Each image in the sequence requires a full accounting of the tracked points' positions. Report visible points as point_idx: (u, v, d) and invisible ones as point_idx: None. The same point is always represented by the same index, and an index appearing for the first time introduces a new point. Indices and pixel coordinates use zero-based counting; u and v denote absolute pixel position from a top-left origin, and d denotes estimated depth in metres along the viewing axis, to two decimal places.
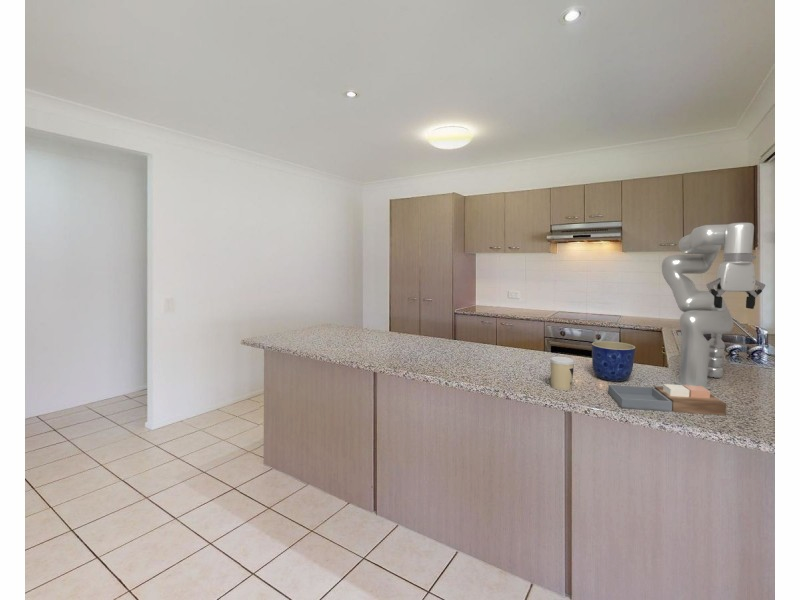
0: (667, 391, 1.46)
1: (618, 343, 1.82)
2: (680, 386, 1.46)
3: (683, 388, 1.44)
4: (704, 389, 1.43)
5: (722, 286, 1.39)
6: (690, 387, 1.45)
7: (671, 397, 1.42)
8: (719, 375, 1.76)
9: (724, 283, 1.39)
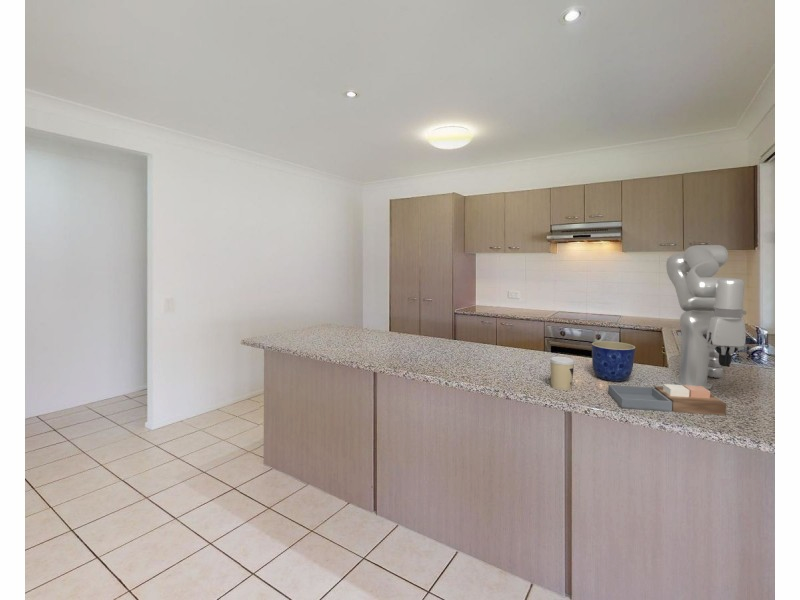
0: (667, 391, 1.46)
1: (618, 343, 1.82)
2: (680, 386, 1.46)
3: (683, 388, 1.44)
4: (704, 389, 1.43)
5: (713, 341, 1.40)
6: (690, 387, 1.45)
7: (671, 397, 1.42)
8: (719, 375, 1.76)
9: (715, 338, 1.39)
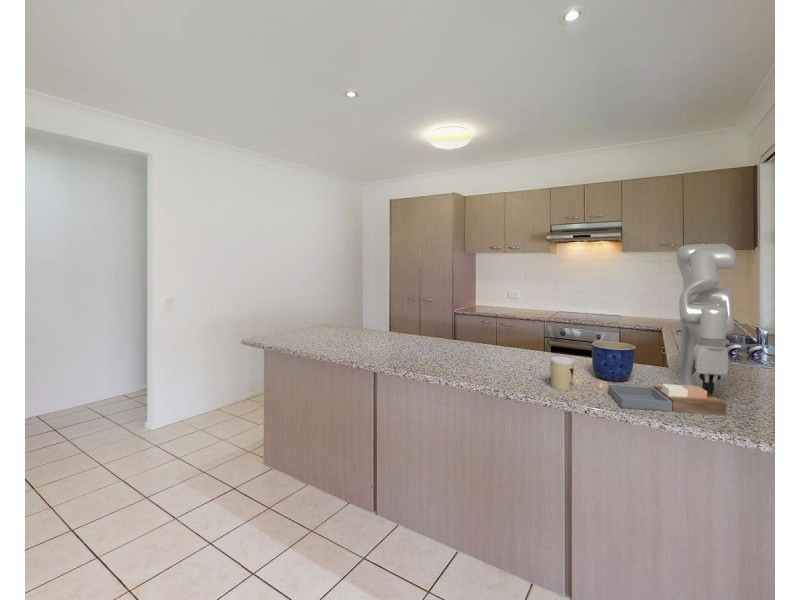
0: (665, 391, 1.46)
1: (618, 343, 1.82)
2: (678, 386, 1.46)
3: (681, 388, 1.44)
4: (701, 389, 1.43)
5: (697, 369, 1.42)
6: (687, 387, 1.45)
7: (671, 397, 1.42)
8: None
9: (698, 366, 1.42)
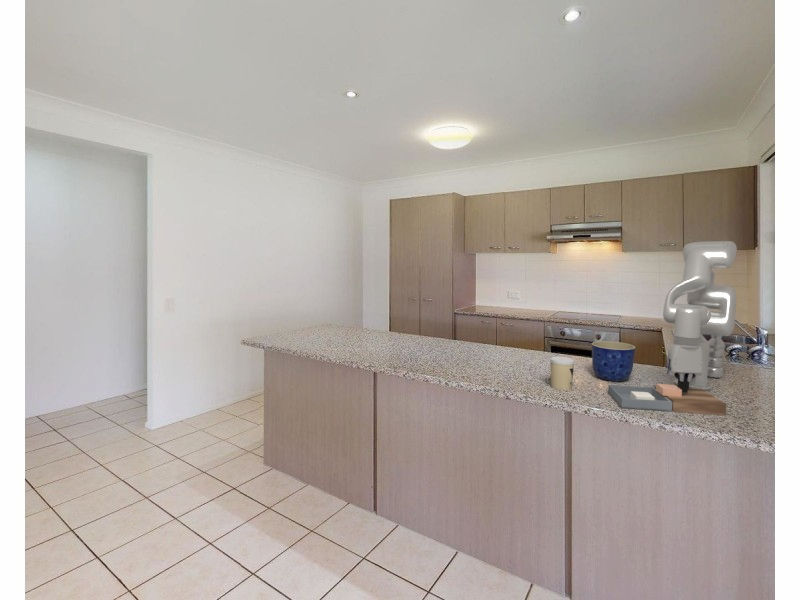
0: None
1: (618, 343, 1.82)
2: None
3: None
4: (676, 388, 1.45)
5: (672, 367, 1.44)
6: (663, 386, 1.47)
7: (671, 397, 1.42)
8: (719, 375, 1.76)
9: (673, 365, 1.43)
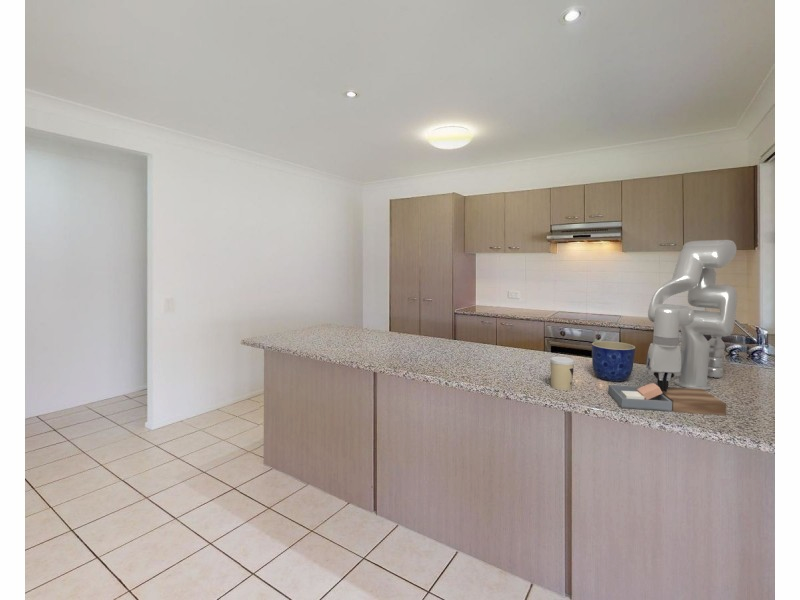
0: None
1: (618, 343, 1.82)
2: None
3: None
4: (654, 386, 1.46)
5: (651, 367, 1.45)
6: (642, 389, 1.49)
7: (671, 397, 1.42)
8: (719, 375, 1.76)
9: (652, 364, 1.45)
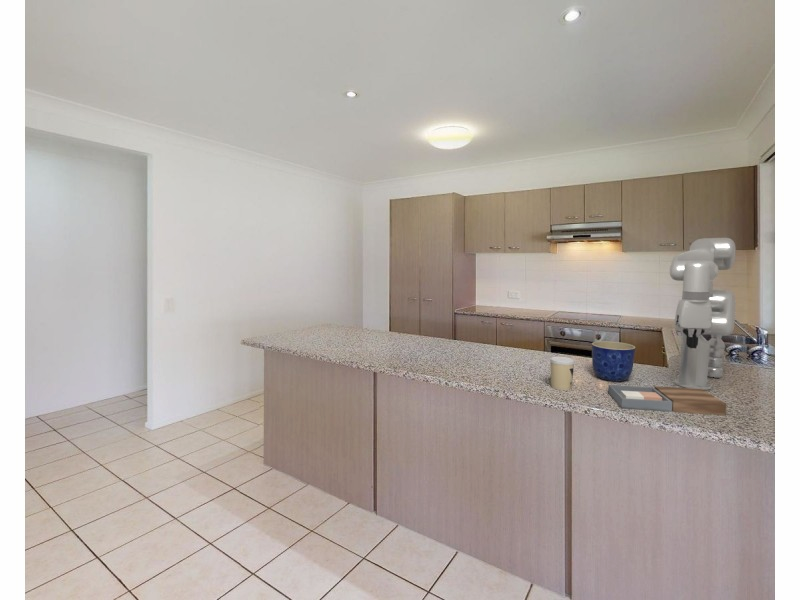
0: None
1: (618, 343, 1.82)
2: None
3: None
4: (657, 395, 1.46)
5: (680, 323, 1.42)
6: (644, 393, 1.49)
7: (671, 397, 1.42)
8: (719, 375, 1.76)
9: (682, 320, 1.42)
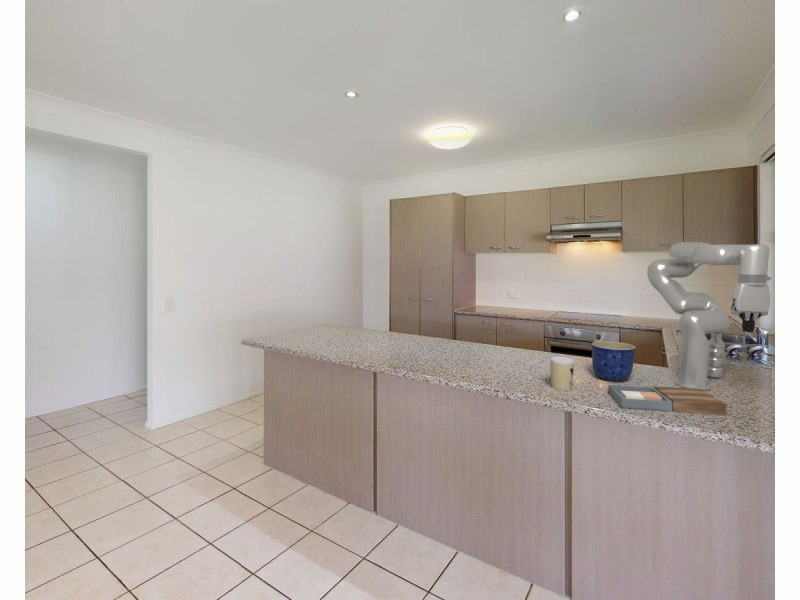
0: None
1: (618, 343, 1.82)
2: None
3: None
4: (657, 395, 1.46)
5: (737, 307, 1.41)
6: (644, 393, 1.49)
7: (671, 397, 1.42)
8: (719, 375, 1.76)
9: (739, 304, 1.40)
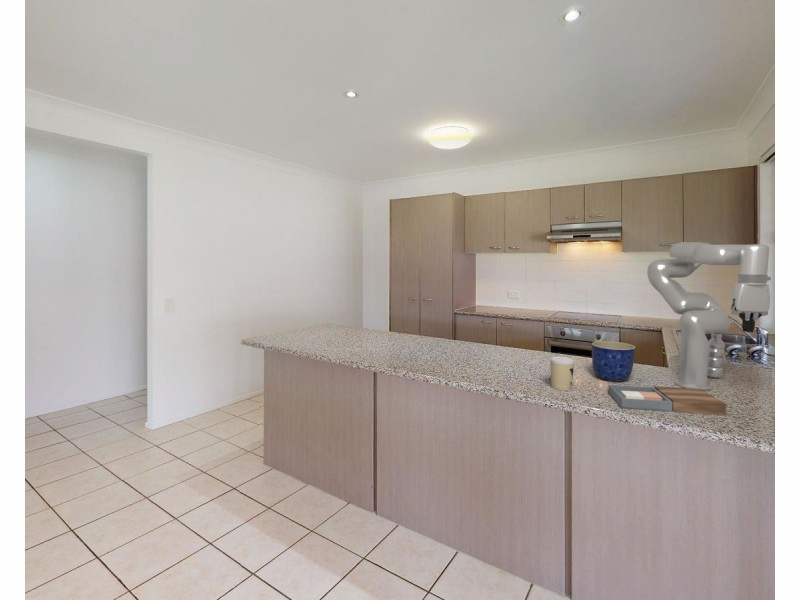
0: None
1: (618, 343, 1.82)
2: None
3: None
4: (657, 395, 1.46)
5: (737, 307, 1.41)
6: (644, 393, 1.49)
7: (671, 397, 1.42)
8: (719, 375, 1.76)
9: (739, 304, 1.40)
